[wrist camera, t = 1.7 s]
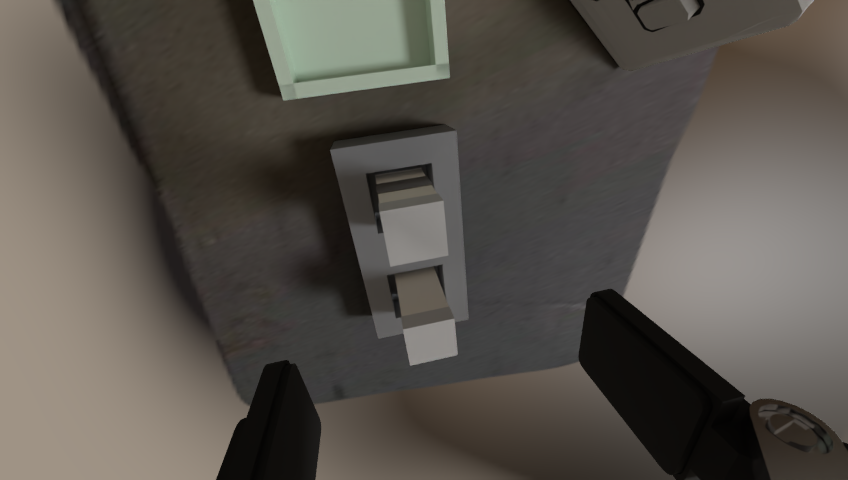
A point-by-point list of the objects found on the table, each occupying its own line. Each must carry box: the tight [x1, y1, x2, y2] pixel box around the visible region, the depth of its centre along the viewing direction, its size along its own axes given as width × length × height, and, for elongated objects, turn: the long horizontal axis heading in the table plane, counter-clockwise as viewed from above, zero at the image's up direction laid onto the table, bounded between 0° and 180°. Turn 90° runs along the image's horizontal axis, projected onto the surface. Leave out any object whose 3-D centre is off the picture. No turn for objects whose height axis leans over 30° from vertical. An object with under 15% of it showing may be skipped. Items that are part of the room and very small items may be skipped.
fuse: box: [394, 266, 458, 366], centre depth 24 cm, size 3×3×8 cm
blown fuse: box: [374, 165, 448, 267], centre depth 20 cm, size 3×3×8 cm
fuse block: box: [330, 124, 469, 339], centre depth 25 cm, size 16×8×3 cm, turn 7°
